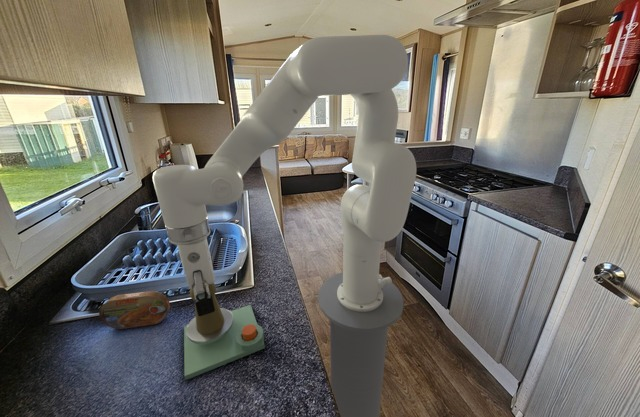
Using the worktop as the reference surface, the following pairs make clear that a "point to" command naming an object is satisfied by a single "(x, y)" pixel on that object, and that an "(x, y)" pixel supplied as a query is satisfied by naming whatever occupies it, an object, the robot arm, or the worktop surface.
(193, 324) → the pan
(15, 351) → the worktop surface
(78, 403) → the worktop surface
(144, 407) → the worktop surface
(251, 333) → the tare button
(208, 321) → the olive game pawn
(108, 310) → the tin
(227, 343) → the scale
